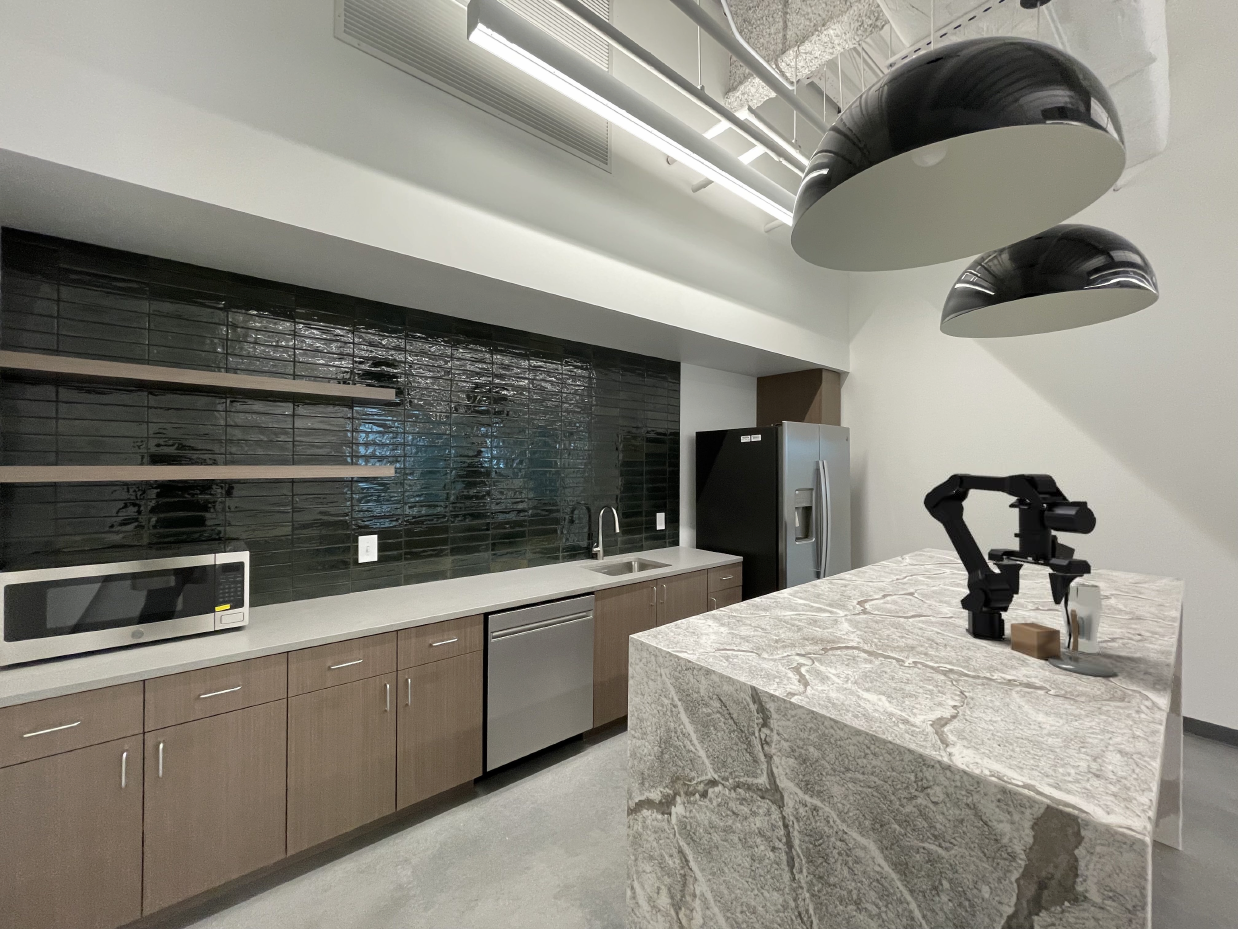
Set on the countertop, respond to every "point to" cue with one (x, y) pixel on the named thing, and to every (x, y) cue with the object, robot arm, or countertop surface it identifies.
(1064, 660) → the slate coaster
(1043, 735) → the countertop surface
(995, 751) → the countertop surface
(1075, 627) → the beer glass
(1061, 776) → the countertop surface
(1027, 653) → the walnut block
